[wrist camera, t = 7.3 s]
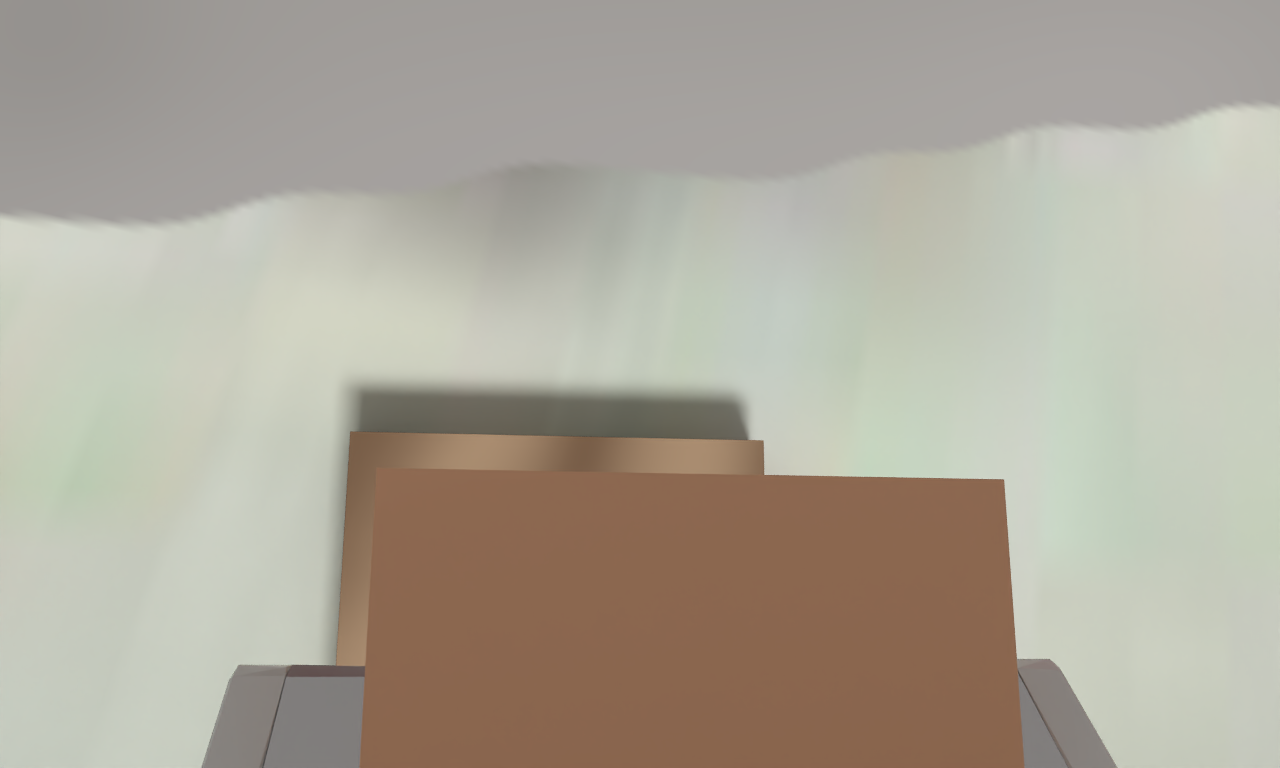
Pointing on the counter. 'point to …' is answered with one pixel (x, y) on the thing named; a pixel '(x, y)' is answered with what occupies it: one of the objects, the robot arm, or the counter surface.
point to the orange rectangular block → (688, 622)
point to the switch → (499, 455)
